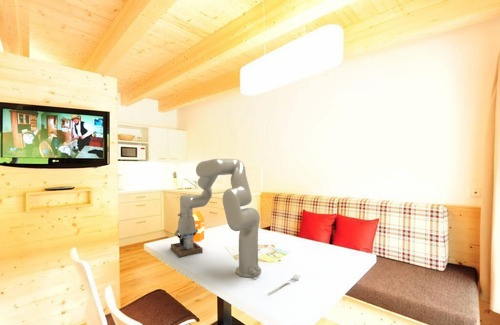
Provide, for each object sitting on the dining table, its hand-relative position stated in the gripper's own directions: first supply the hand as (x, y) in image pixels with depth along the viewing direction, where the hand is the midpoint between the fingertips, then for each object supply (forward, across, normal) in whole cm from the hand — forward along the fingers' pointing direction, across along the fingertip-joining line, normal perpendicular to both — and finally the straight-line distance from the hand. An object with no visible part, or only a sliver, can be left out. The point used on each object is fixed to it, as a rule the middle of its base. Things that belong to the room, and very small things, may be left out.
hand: (186, 244), depth 157 cm
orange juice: (+4, +14, +19) cm, 24 cm away
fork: (+5, +20, -68) cm, 71 cm away
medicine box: (+2, 0, 0) cm, 2 cm away
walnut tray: (+4, 0, 0) cm, 4 cm away
